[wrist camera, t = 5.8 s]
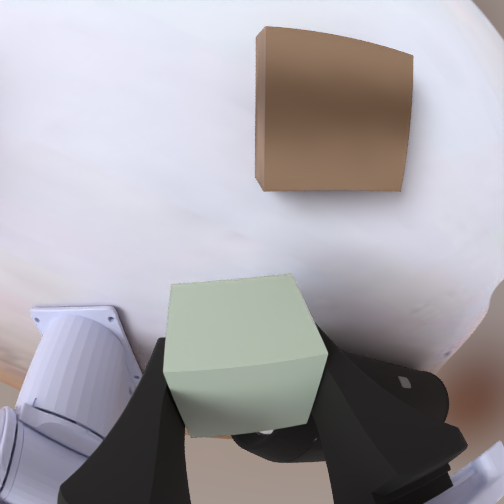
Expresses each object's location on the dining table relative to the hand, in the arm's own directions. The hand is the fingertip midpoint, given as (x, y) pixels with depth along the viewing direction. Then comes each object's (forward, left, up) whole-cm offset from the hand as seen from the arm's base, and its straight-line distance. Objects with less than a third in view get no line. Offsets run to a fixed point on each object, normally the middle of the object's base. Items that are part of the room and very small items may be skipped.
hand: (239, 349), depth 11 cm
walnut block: (+8, -6, -9) cm, 13 cm away
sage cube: (0, 0, -1) cm, 1 cm away
